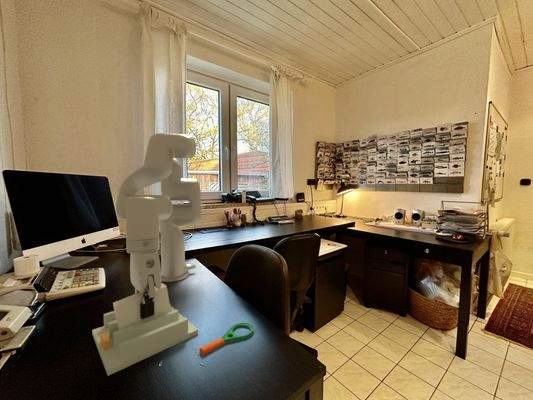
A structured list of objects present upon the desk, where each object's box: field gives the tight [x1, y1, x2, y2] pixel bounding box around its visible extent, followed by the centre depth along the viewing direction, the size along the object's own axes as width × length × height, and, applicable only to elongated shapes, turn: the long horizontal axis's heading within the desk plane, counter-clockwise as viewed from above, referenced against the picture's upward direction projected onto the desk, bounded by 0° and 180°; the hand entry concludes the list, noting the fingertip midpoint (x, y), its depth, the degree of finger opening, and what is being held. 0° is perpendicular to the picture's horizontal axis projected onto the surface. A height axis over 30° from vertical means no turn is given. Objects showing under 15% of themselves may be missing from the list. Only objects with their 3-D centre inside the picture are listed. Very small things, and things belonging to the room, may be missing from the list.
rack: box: [91, 304, 199, 377], centre depth 61 cm, size 20×19×5 cm
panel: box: [112, 282, 171, 331], centre depth 61 cm, size 12×3×9 cm, turn 134°
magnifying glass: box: [199, 322, 255, 356], centre depth 60 cm, size 15×6×2 cm, turn 135°
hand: (144, 313), depth 61 cm, fingers open, 3 cm apart
